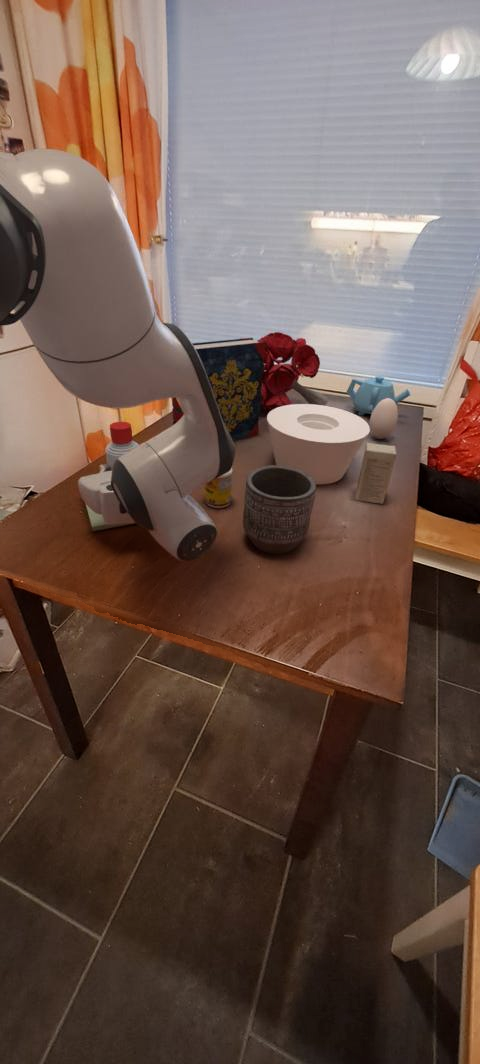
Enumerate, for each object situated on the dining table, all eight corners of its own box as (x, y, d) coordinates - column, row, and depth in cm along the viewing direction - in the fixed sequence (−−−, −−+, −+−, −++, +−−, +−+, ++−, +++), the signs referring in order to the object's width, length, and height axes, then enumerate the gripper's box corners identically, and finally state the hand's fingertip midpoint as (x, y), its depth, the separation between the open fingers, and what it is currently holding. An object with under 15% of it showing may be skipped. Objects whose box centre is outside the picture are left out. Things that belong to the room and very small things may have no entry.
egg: (382, 445, 119) (394, 404, 112) (360, 436, 123) (370, 397, 117) (396, 439, 123) (408, 400, 117) (374, 431, 128) (384, 392, 121)
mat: (92, 531, 79) (92, 527, 78) (84, 499, 87) (83, 495, 87) (175, 515, 84) (175, 511, 84) (159, 487, 93) (159, 483, 92)
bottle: (116, 514, 82) (105, 436, 72) (110, 498, 86) (99, 423, 77) (148, 508, 84) (142, 432, 75) (141, 493, 89) (134, 419, 79)
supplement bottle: (201, 497, 90) (201, 454, 84) (225, 493, 92) (227, 451, 86) (209, 511, 86) (210, 466, 80) (234, 507, 88) (237, 463, 82)
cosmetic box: (382, 495, 96) (397, 445, 89) (383, 505, 93) (398, 454, 85) (354, 490, 97) (366, 441, 90) (353, 499, 94) (366, 449, 86)
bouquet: (297, 416, 153) (228, 371, 142) (341, 361, 140) (269, 306, 130) (305, 445, 136) (227, 396, 126) (355, 385, 124) (273, 324, 113)
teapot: (339, 415, 137) (346, 378, 130) (347, 400, 150) (354, 366, 143) (402, 427, 132) (413, 389, 125) (404, 410, 145) (415, 375, 138)
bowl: (378, 475, 104) (391, 429, 97) (309, 502, 92) (319, 451, 85) (309, 440, 119) (316, 398, 112) (243, 459, 107) (246, 413, 100)
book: (181, 454, 107) (179, 351, 92) (168, 444, 111) (164, 344, 97) (259, 435, 120) (267, 342, 105) (244, 427, 124) (250, 336, 109)
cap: (113, 445, 75) (111, 430, 73) (109, 437, 78) (108, 422, 76) (134, 442, 76) (132, 428, 75) (130, 434, 79) (128, 420, 77)
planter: (266, 515, 86) (273, 458, 79) (317, 539, 81) (329, 481, 73) (228, 540, 79) (231, 480, 71) (281, 570, 73) (290, 508, 65)
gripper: (206, 466, 75) (171, 438, 84) (91, 494, 65) (66, 459, 74) (205, 496, 78) (172, 466, 87) (97, 527, 69) (72, 490, 78)
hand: (123, 463), depth 81 cm, fingers closed on bottle, 6 cm apart
